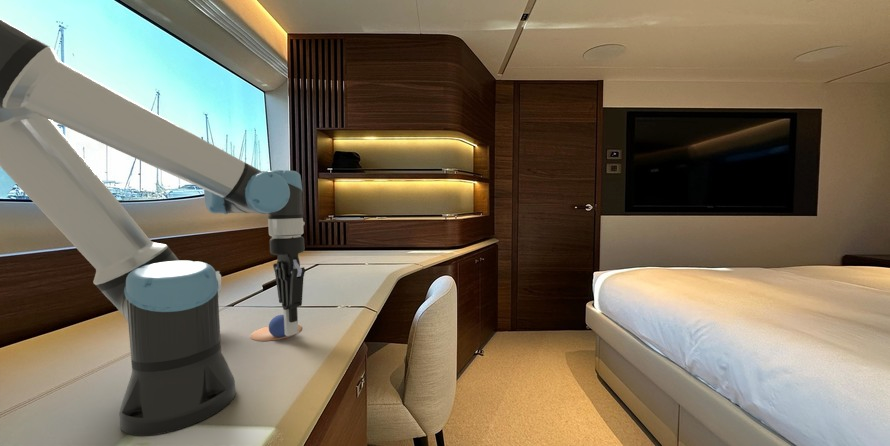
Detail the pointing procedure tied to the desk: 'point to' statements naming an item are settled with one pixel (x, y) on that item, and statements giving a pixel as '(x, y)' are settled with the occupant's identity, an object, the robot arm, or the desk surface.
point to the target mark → (267, 334)
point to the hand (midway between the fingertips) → (291, 333)
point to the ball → (277, 326)
